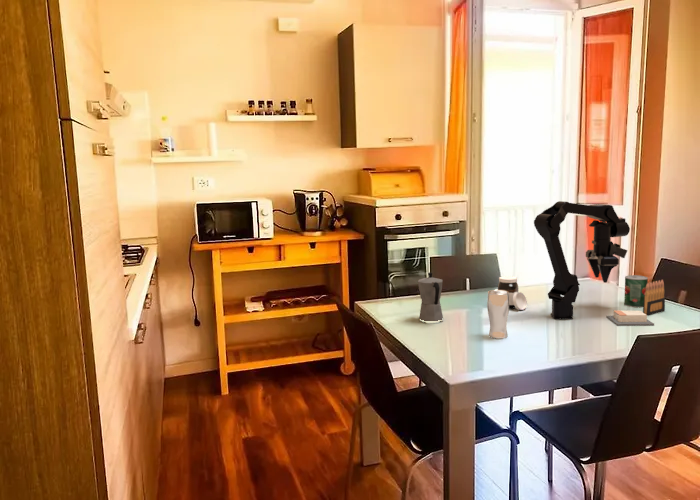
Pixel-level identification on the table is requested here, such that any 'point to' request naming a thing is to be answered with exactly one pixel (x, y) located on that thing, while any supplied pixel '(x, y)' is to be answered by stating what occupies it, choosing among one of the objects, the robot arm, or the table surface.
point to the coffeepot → (430, 298)
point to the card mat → (630, 322)
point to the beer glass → (498, 313)
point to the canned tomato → (635, 290)
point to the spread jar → (512, 292)
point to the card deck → (629, 316)
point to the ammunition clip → (654, 298)
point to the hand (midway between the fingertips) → (600, 279)
